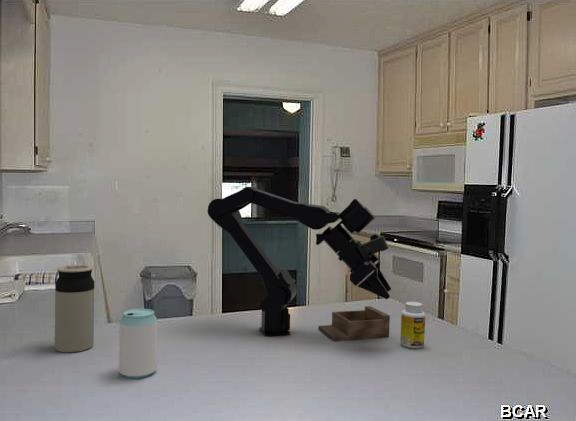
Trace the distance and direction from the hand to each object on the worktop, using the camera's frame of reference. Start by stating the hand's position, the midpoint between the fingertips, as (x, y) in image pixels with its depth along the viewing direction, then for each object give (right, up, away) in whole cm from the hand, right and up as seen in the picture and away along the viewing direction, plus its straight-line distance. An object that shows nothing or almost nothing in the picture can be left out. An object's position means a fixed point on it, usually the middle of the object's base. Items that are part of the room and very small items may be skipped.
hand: (389, 294), depth 120 cm
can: (-54, -12, -23) cm, 60 cm away
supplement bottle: (+5, -12, -1) cm, 14 cm away
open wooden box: (-8, -12, +8) cm, 16 cm away
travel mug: (-72, -11, -9) cm, 73 cm away
